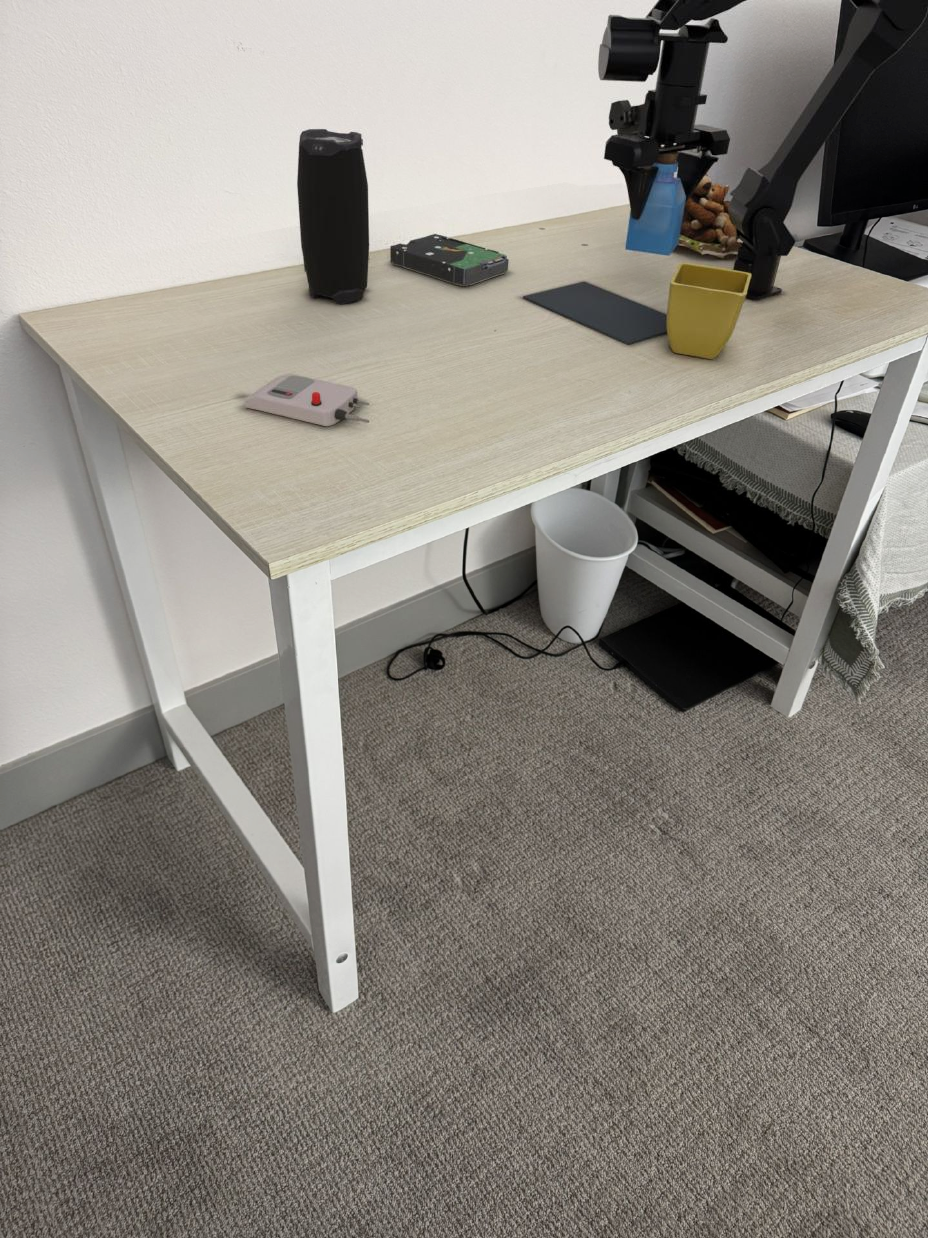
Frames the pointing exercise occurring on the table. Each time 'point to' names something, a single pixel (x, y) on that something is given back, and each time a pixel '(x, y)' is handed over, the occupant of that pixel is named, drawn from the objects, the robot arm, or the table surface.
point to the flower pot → (704, 308)
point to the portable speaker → (333, 214)
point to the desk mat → (603, 311)
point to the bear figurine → (708, 221)
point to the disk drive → (449, 259)
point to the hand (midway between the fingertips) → (656, 214)
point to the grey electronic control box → (306, 400)
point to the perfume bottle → (659, 212)
